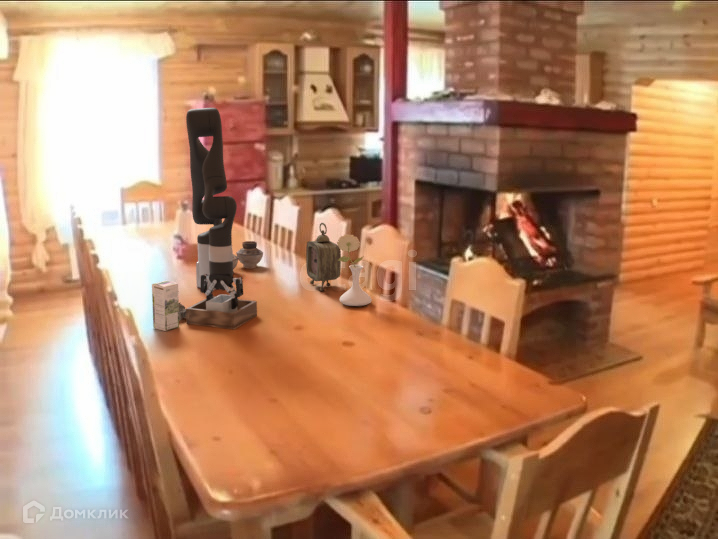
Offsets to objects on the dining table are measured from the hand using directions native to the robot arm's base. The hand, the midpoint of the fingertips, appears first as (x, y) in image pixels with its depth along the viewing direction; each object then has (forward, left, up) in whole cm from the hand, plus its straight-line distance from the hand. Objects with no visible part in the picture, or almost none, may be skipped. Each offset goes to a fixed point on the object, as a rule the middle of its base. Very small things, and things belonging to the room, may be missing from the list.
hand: (222, 307), depth 239 cm
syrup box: (-12, -14, -4) cm, 19 cm away
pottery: (-27, +65, -4) cm, 70 cm away
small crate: (0, 0, -3) cm, 3 cm away
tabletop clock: (+16, +51, -4) cm, 54 cm away
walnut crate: (0, 0, -4) cm, 4 cm away
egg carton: (-15, -4, -5) cm, 17 cm away
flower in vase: (+34, +33, -4) cm, 48 cm away
